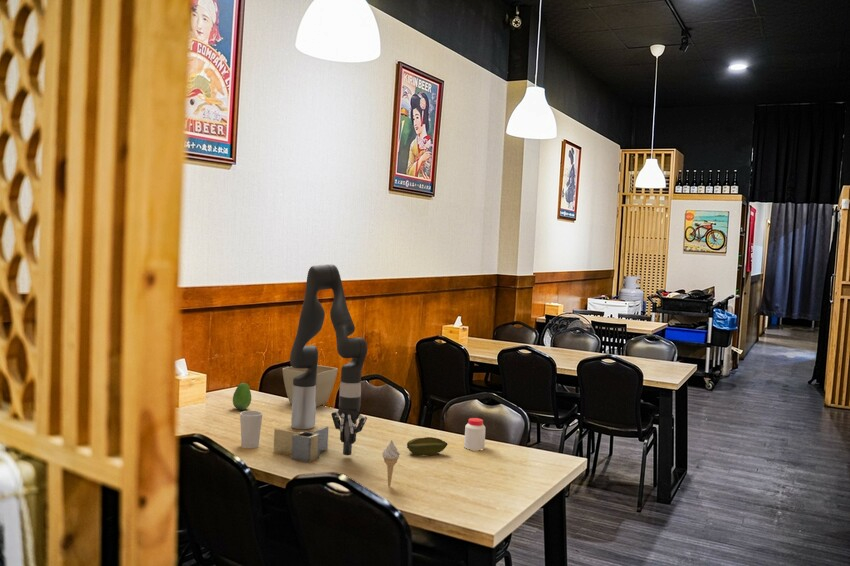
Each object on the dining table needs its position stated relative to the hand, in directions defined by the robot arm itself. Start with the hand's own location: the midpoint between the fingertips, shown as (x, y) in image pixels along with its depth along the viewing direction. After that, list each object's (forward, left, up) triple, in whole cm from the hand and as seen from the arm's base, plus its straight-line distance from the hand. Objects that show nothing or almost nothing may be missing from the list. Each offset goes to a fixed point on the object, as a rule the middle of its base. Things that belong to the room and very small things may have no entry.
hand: (347, 442), depth 247 cm
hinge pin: (0, 0, -4) cm, 4 cm away
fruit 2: (-20, +21, -6) cm, 30 cm away
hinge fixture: (+3, -17, -6) cm, 18 cm away
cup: (+7, -37, -6) cm, 38 cm away
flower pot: (-61, -58, -6) cm, 84 cm away
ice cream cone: (+17, +26, -6) cm, 32 cm away
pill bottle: (-39, +33, -6) cm, 51 cm away
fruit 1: (-34, -75, -6) cm, 82 cm away
